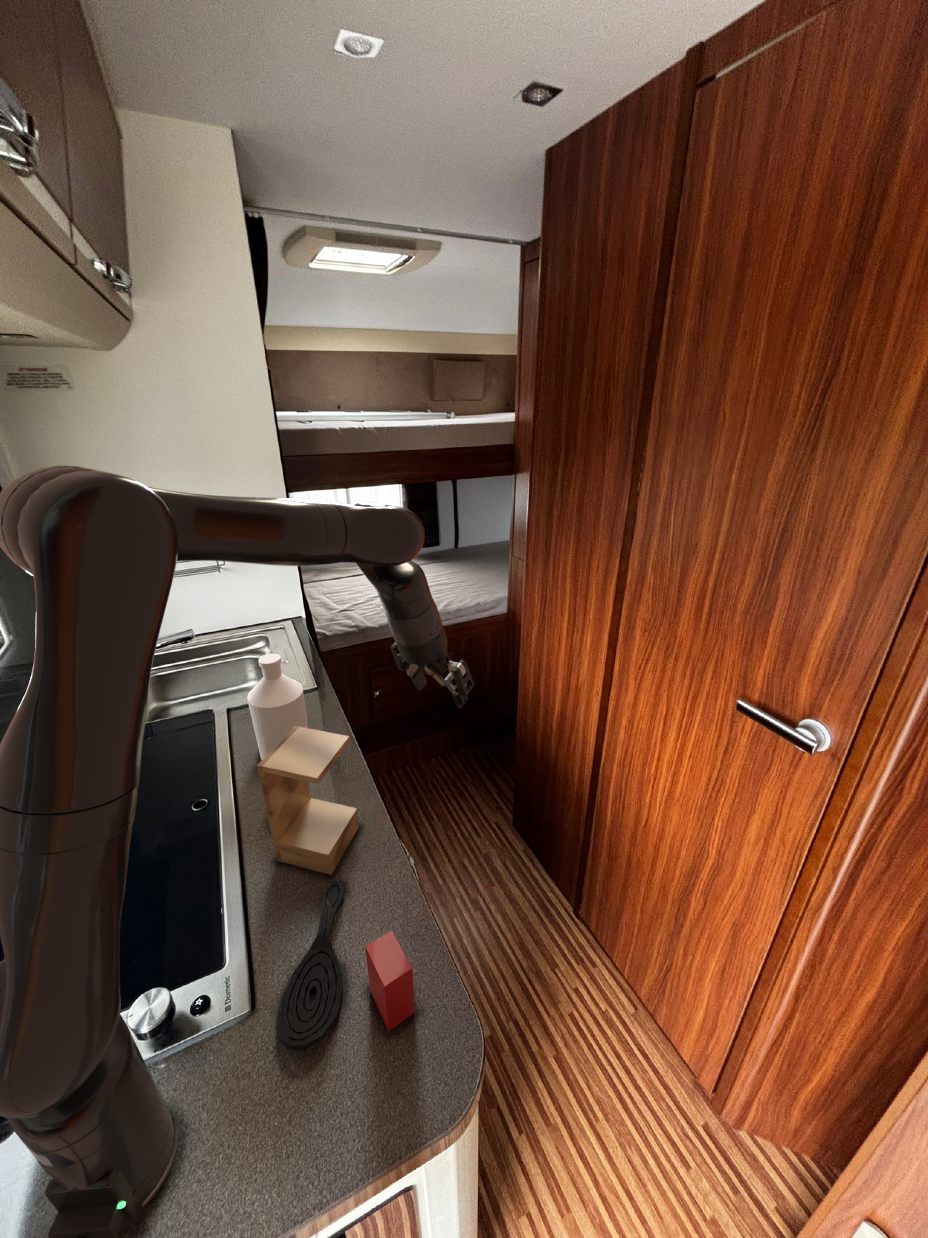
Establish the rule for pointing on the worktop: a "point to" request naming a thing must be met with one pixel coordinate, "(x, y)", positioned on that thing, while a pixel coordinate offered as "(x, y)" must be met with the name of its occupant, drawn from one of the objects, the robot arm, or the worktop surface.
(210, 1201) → the worktop surface
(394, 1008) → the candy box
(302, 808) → the shelf unit
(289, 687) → the bottle
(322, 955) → the hairbrush
